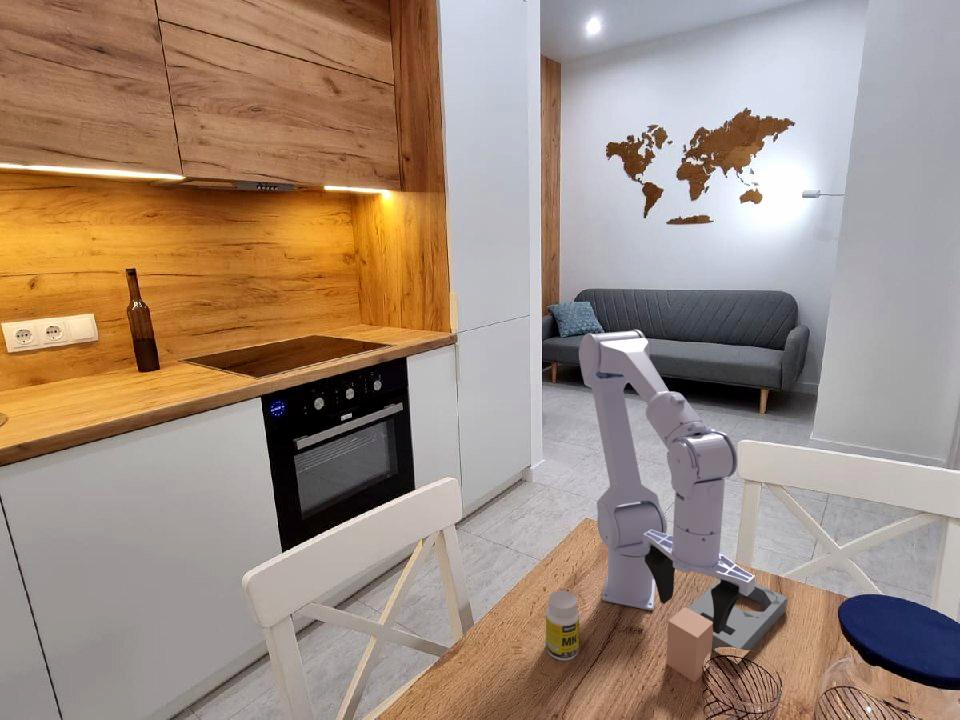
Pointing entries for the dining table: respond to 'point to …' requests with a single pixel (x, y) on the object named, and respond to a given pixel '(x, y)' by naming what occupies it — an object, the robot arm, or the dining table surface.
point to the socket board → (743, 618)
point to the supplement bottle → (562, 626)
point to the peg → (688, 642)
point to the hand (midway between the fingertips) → (691, 613)
